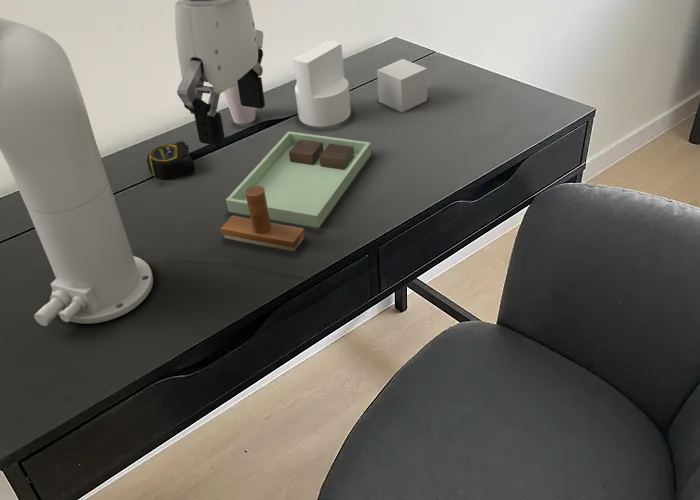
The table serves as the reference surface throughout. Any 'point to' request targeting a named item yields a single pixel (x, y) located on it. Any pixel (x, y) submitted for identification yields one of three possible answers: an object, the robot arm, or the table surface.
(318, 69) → the base with upright slab
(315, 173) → the tray
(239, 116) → the smoothie
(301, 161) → the dark brown square block
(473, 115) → the table surface
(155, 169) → the tape measure
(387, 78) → the light grey cube
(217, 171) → the table surface
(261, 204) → the brush
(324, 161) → the chip
